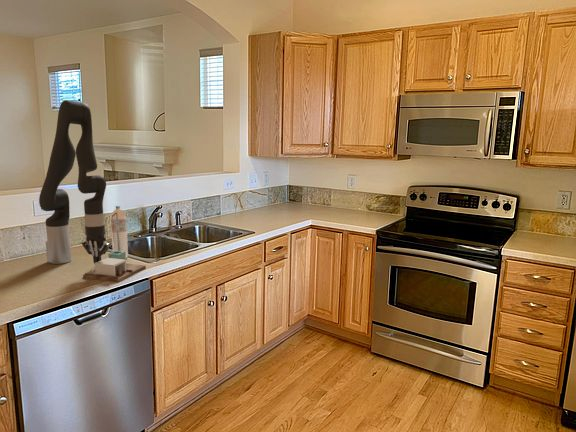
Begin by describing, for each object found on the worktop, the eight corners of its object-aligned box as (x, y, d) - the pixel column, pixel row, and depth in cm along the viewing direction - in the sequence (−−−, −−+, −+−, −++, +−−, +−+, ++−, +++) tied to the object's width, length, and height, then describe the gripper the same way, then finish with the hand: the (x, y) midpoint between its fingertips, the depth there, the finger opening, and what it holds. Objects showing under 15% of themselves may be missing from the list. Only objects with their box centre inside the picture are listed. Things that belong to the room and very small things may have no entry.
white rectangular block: (95, 274, 180) (94, 263, 179) (108, 268, 188) (107, 257, 187) (114, 277, 178) (113, 265, 177) (126, 271, 186) (125, 259, 185)
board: (83, 277, 181) (82, 263, 180) (112, 264, 199) (112, 251, 198) (118, 282, 177) (117, 267, 176) (145, 268, 195) (145, 254, 194)
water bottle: (113, 256, 212) (110, 205, 207) (128, 255, 214) (125, 204, 209) (112, 260, 206) (109, 207, 201) (128, 258, 208) (125, 207, 203)
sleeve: (109, 266, 192) (108, 253, 191) (116, 263, 197) (115, 250, 195) (119, 267, 191) (118, 254, 189) (126, 264, 195) (125, 251, 194)
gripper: (114, 223, 182) (116, 263, 186) (87, 221, 186) (90, 260, 189) (102, 227, 175) (105, 268, 179) (74, 224, 179) (77, 265, 182)
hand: (97, 264), depth 184 cm, fingers closed
